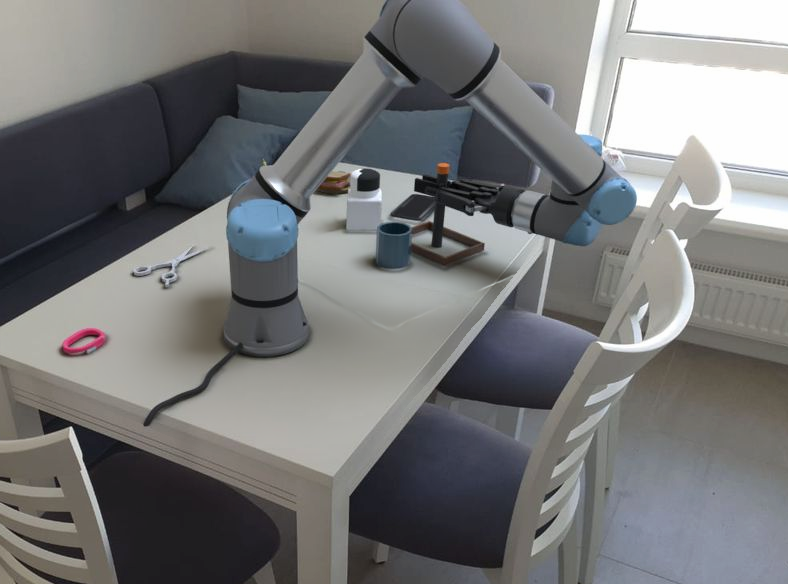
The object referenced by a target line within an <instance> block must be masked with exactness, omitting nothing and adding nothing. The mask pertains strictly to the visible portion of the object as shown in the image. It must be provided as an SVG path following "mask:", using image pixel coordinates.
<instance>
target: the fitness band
mask: <svg viewBox="0 0 788 584" xmlns="http://www.w3.org/2000/svg"><path fill="white" fill-rule="evenodd" d="M91 335H92V336H98V337H96V338H95V339H94V340H92V341H91V342H89V343H87V344H85V345H83V346H80V347H79V346H78V347H71V345H72V344H73V343H75V342H77V341H78V340H80V339H82V338H84V337H86V336H91ZM106 339H107V338H106V334H105V333H104V332H103V331H102V330H101V329H98V328H96V327H87V328H83V329H80V330H78V331H76V332H74V333H73V334H72V335H70V336H68V337H66V339H64V340H63V342H62V350H63V352H64V353H66V354H79V353H83V352H85V354H87V355H89V354H91V353H92V352H94V351H96V350H97V349H99V348H100V347H101V346H102V345H104V344H105V342H106Z"/></svg>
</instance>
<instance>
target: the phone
mask: <svg viewBox="0 0 788 584" xmlns="http://www.w3.org/2000/svg"><path fill="white" fill-rule="evenodd" d="M434 209H435V197H433V196H429V195H426V194H420V193H412V194H410V195H409V196H408V197H407V198H405V199H404V201H402V202H401V203H400V204H399V205H398V206H397V207H395V208H394V209H393V210H392V211H390V216H391V217H393V218H398V219H406V220H410V221H414V222H415V221H416V222H422V223H424V222H425V220H426V219H427V218H428V217H430V215H431V214H432V213H434Z"/></svg>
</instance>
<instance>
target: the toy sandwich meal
mask: <svg viewBox="0 0 788 584" xmlns="http://www.w3.org/2000/svg"><path fill="white" fill-rule="evenodd" d="M350 183H351V173H350V172H346V171H342V170H338V171H334V170H332V172H331V173H330V174H329V175H328V176H327V177H326V179H325V180H324V181H323V182H322V183H321V185H320V186H319V187H318V188H317V189H316V191H319V192H323V193H327V194H344V193H348V189H350Z"/></svg>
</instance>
